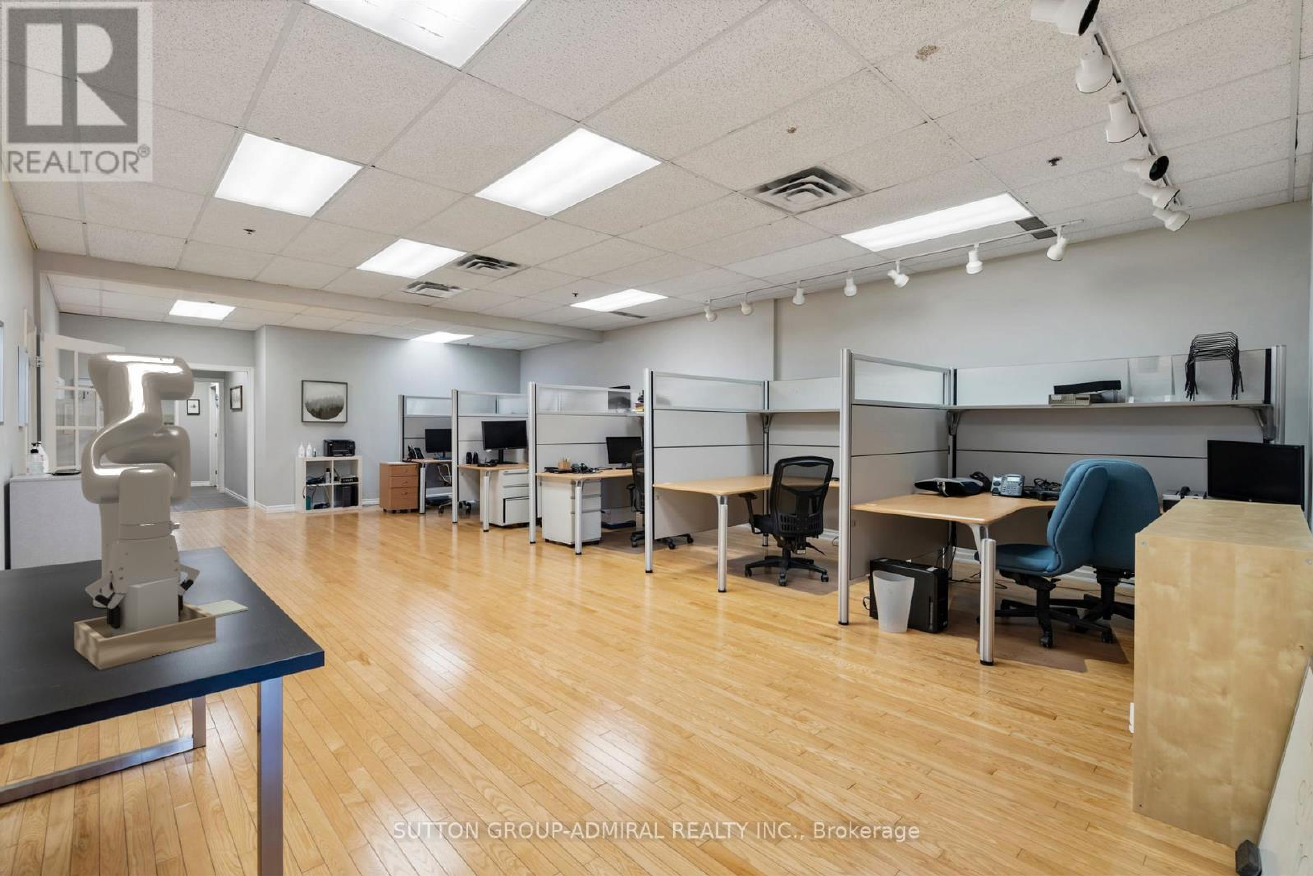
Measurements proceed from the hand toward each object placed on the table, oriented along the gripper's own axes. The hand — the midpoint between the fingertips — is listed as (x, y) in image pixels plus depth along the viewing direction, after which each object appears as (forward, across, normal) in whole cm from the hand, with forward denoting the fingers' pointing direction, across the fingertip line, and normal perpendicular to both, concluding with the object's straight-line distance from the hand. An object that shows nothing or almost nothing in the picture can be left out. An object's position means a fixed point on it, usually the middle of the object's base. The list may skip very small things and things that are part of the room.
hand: (146, 620), depth 114 cm
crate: (+5, 0, 0) cm, 5 cm away
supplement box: (+5, 0, 0) cm, 5 cm away
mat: (+5, -15, -14) cm, 21 cm away
